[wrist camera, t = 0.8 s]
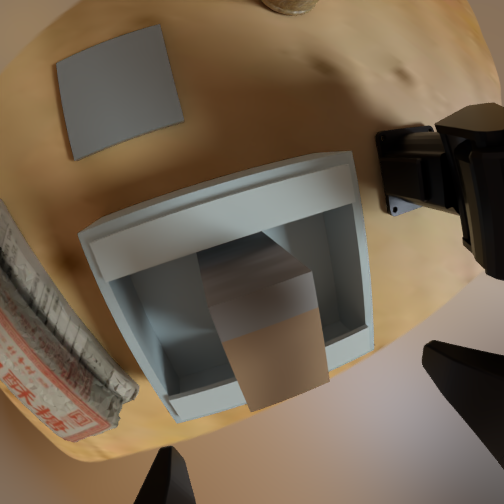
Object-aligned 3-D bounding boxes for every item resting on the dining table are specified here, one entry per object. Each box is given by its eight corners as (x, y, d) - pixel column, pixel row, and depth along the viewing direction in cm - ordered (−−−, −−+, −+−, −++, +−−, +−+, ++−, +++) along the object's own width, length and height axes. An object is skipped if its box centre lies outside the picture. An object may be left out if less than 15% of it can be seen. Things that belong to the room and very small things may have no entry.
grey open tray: (314, 152, 18) (356, 150, 14) (343, 320, 23) (376, 352, 18) (100, 217, 16) (74, 235, 12) (174, 380, 21) (177, 427, 16)
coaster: (160, 27, 14) (159, 24, 13) (184, 122, 16) (184, 120, 15) (59, 65, 13) (56, 63, 12) (77, 161, 15) (74, 160, 14)
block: (257, 227, 18) (311, 270, 11) (278, 309, 20) (329, 381, 13) (195, 247, 18) (208, 307, 10) (223, 328, 20) (250, 412, 12)
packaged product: (142, 427, 16) (60, 456, 16) (145, 383, 21) (70, 418, 20) (-35, 202, 10) (-85, 285, 9) (4, 193, 14) (-53, 265, 14)
